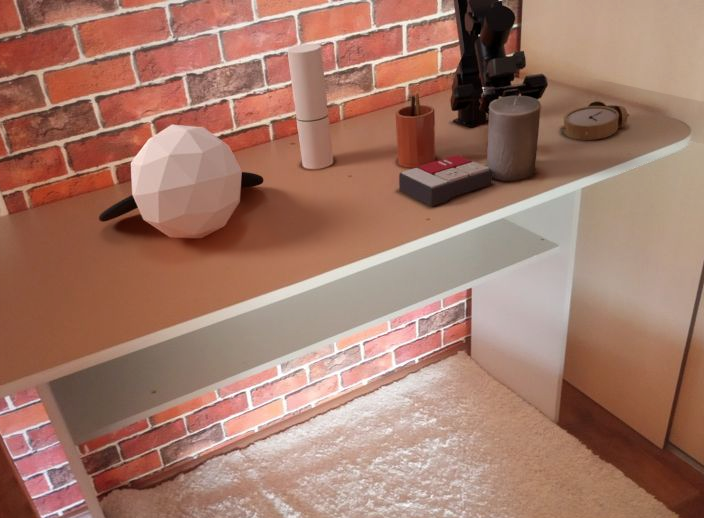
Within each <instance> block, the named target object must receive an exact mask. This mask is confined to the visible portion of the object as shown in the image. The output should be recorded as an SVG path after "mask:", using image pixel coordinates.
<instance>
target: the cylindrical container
mask: <svg viewBox="0 0 704 518" xmlns="http://www.w3.org/2000/svg"><path fill="white" fill-rule="evenodd" d="M286 51H287V60H288V68H289V74H290V81H291V91H292V97H293V102H294V103H293V104H294V112H295V120H296V126H297V127H296V128H297V134H298V141H299V150H300V156H301V157H300V158H301V165H302V167H303V168H304V169H307V170H320V169H324V168H328V167H329V166H331V165H332V164H333V163H334V153H333V146H332V145H333V144H332V135H331V125H330V117H329V116H330V115H329V108H328V97H327V89H326V79H325V71H324V69H325V68H324V60H323V50H322V45H321V44H319V43H303V44H297V45H293V46H291V47H288V48H287V50H286Z"/></svg>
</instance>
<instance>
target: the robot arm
mask: <svg viewBox="0 0 704 518" xmlns="http://www.w3.org/2000/svg"><path fill="white" fill-rule="evenodd" d="M453 6H454V8H453V9H454V14H455V15H454V16H455V23H456V30H457V38H458V45H459V53H460V60H459V62H458V64H457V67H456V69H455V74H454V77H453V80H452V83H451V96H450V99H449V100H450V101H449V102H450V107H451V108H450V109H451V111H452V112H457V118H454V119H453V120H452V122H453V123H455V124H458V125H461V126H464V127H466V128H473V127H476V126H479V125H481V124H484V123H487V122H488V123H489V117H488V116H489V106H490V103H491V102H492V101H494V100H496V99H499V98H502V97H507V96H528V97H532V98H535V99H537V100H538V101H539V99H542V97H543V95H544V93H545V92H546V89H547V88H548V85H549V83H548V77H546V75H544V74H543V73H537V74H530V75H525V77H524V80H523V82H522V83H516V84H512V82H514V81H515V79H516V76H515V74H517V73H518V71H519V70H523V69H524V68H526V66H527V60H526V55H525V51H524V50H521V51H519V50H518V51H515V52H514V53H512V55H509V56H508V55H507V54H506V49H505V45H506V44H507V43H508V41H509V38H510V36H511V33H512V31H513V27H514V25H515V22H516V14H515V12H514V10H513V9H511V8H510V7H508V6H506V5H503V1H502V0H453ZM487 115H488V116H487Z"/></svg>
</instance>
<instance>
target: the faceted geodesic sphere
mask: <svg viewBox="0 0 704 518" xmlns="http://www.w3.org/2000/svg"><path fill="white" fill-rule="evenodd" d="M130 178H131V180H130V181H131V195H128V196H127V197H125V198H123V199H121V200H119V201H118V202H116V203H114V204H112V205H111V206H109V207H108V208H106V209H105V210H104V211H102V212H101V213H100V214H99V216H98V220H99V221H100V222H102V223H103V222H108V221H111V220H114V219H117V218H119V217H122V216H124V215H126V214H128V213H130V212H133V211H134V210H136V209H138V211H139V214H140V215H141V218H142V220H143V221H145V222H146V223H147V224H150V226H152V227H154V228H155V229H157V230H158V231H159V232H161V233H163V234H164V235H166V236H167V237H169V238H176V239H177V238H179V239H202V238H204V237H207V236H208V235H210V234H212V233H214V232H216V231H218V230H220V229H221V228H223V227H225V226H226V225H227V223H228V221H229V220H230V218H231V216H232V215H233V214H234V211H235V210H236V208H238V207H237V206H239V204H240V202H241V189H245V188H246V189H247V188H253V187H257V186H258V187H259V186H260V185H262V184H263V183H264V180H265V179H264V177H263V176H261V175H260V174H258V173H253V172H246V171H242V168H241V167H240V164H239V163H238V160H237V159H236V157H235V154H234V152H233V151H232V149H231V147H230V145H228V144H227V143H226V142H225V141H223V140H221V139H220V138H219V137H218V136H217V135H215V134H213V133H212V132H211V131H210V130H208V129H207V128H206V127H204V126H195V125H181V124H170V125H169V126H167V127H166V128H164V129H162V130H160V131H159V132H158V133H156V134H155V135H153V136H152V137H150V138H148V139H147V141H146V142H145V143H144V144H143V146H142V147H141V149H140V150H139V151H138V152H137V154H136V155H135V156H134V158H133V159H132V160H131V162H130Z"/></svg>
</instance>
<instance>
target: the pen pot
mask: <svg viewBox="0 0 704 518" xmlns="http://www.w3.org/2000/svg"><path fill="white" fill-rule="evenodd" d="M420 111H421V115H420V116H417V110H416V104H415V109H414V116H410V112H411V105H407V106H402V107H400V108H399V109H397V110H395V128H396V130H395V131H396V149H397V162H398V164H399V165H400V167H404V168H408V169H409V168H410V169H414V168H419V166H421V165H424V164H428V163H431V162H435V161H436V120H435V108H434V107H433V106H431V105H428V104H420Z"/></svg>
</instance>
